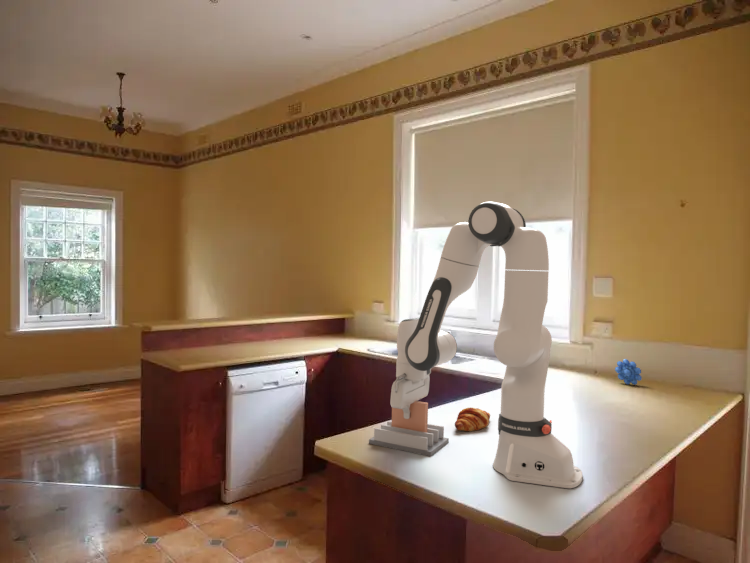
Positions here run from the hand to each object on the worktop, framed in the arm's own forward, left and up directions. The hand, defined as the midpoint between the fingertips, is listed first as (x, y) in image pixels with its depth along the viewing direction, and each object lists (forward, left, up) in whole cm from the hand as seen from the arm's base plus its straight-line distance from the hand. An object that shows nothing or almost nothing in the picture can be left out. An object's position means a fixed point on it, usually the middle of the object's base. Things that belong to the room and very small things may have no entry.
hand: (409, 416), depth 158 cm
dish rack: (0, 0, -8) cm, 8 cm away
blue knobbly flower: (-53, -131, -8) cm, 142 cm away
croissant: (-12, -27, -8) cm, 31 cm away
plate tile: (0, 0, -5) cm, 5 cm away
